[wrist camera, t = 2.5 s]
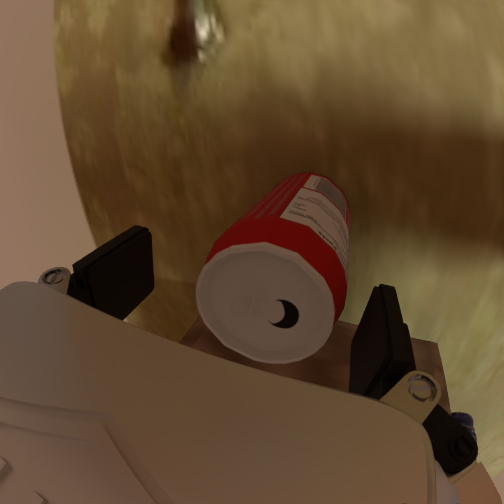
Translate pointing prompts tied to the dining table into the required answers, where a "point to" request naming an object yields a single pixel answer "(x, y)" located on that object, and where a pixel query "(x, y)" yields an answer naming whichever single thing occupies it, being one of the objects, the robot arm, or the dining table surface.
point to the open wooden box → (320, 358)
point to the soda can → (279, 272)
